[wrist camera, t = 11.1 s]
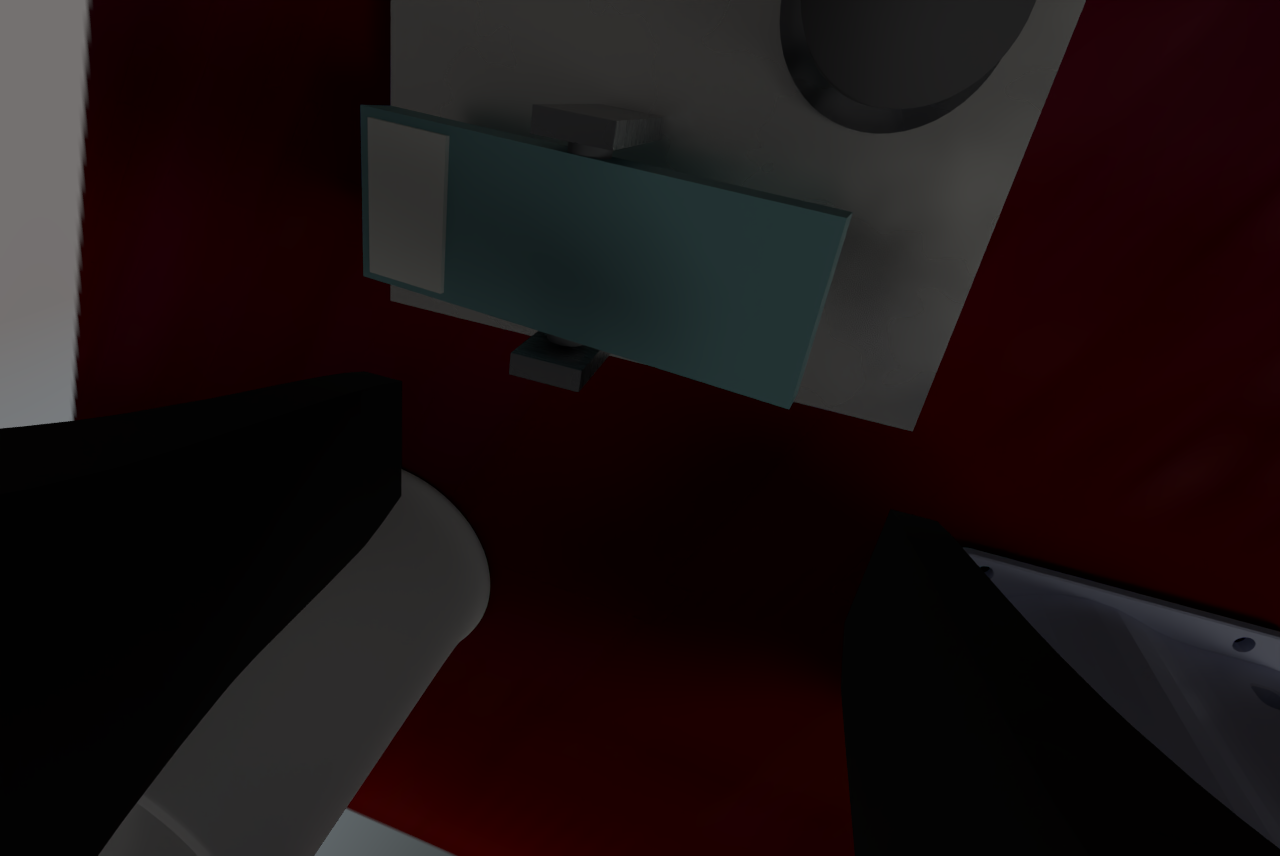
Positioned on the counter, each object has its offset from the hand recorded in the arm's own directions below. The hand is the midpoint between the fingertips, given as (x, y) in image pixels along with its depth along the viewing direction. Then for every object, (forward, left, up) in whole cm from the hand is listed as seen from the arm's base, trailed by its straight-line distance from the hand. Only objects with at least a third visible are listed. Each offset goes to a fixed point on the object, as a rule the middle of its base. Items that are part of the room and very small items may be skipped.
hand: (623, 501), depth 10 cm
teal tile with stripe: (+3, -2, -6) cm, 7 cm away
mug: (+12, +12, -11) cm, 20 cm away
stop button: (-2, -7, -7) cm, 11 cm away
